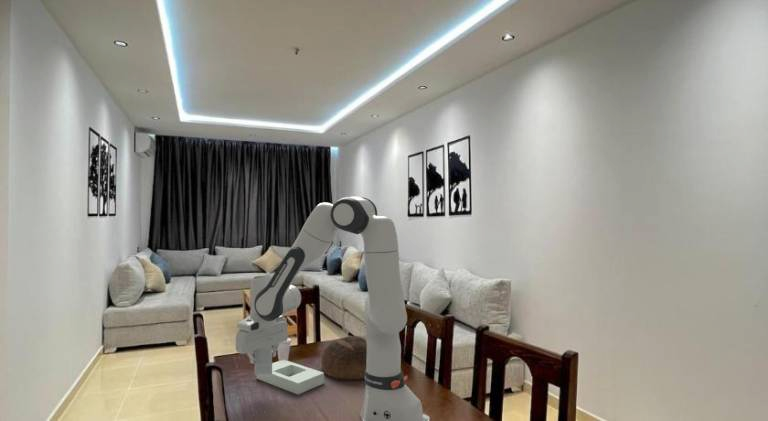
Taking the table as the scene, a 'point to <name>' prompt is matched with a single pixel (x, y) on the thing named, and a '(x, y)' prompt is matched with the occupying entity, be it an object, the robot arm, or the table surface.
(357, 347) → the bread
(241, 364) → the table surface
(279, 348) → the smoothie
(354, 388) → the table surface
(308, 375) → the white rectangular holder
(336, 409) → the table surface
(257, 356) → the skincare box
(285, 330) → the robot arm
